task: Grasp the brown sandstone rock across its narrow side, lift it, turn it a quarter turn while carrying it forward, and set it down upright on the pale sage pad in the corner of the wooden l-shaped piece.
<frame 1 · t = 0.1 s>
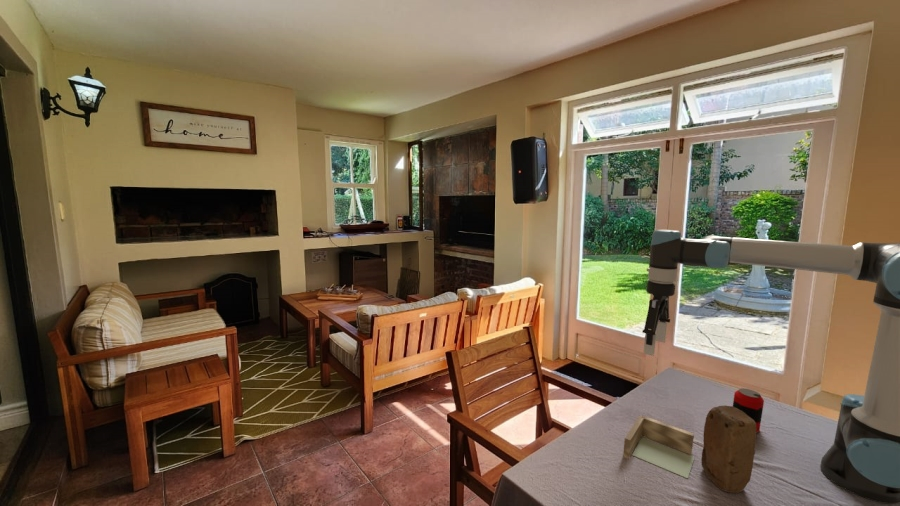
hand: (654, 347, 119), 28 cm above the table, fingers open, 13 cm apart
soda can: (744, 427, 126), on the table
wooden l-shaped piece: (640, 433, 122), on the table
brown sandstone rock: (721, 480, 102), on the table
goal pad: (663, 456, 111), on the table
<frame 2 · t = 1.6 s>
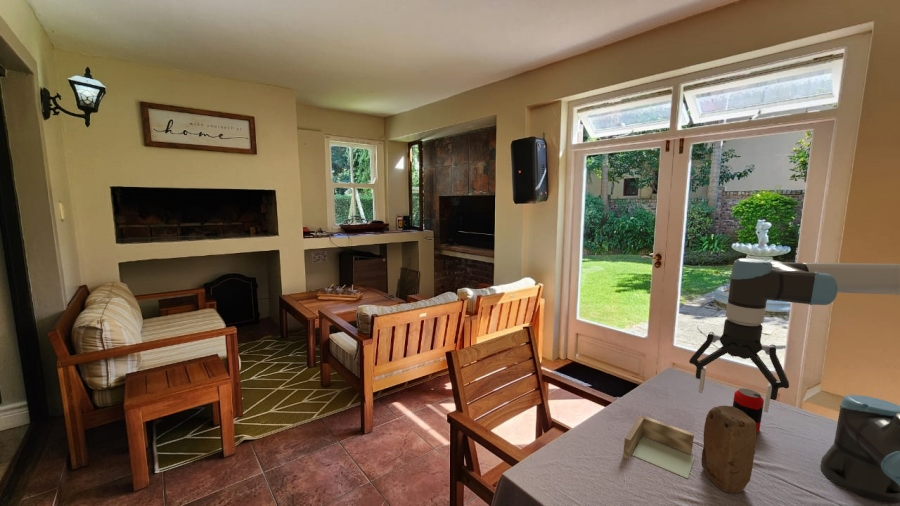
hand: (732, 400, 99), 23 cm above the table, fingers open, 13 cm apart
nothing on the table moved.
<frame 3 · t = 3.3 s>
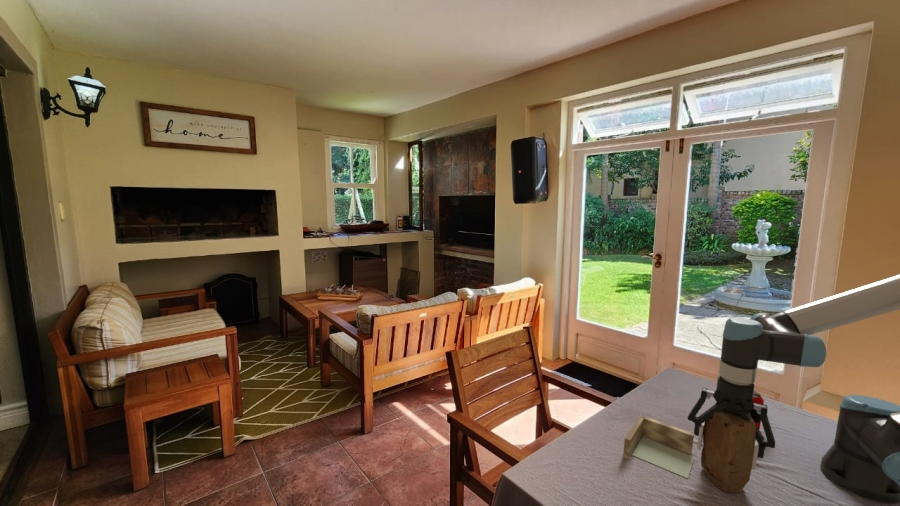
hand: (725, 456, 101), 7 cm above the table, fingers closed on brown sandstone rock, 11 cm apart
brown sandstone rock: (721, 480, 102), on the table, touching gripper
everything else where it was.
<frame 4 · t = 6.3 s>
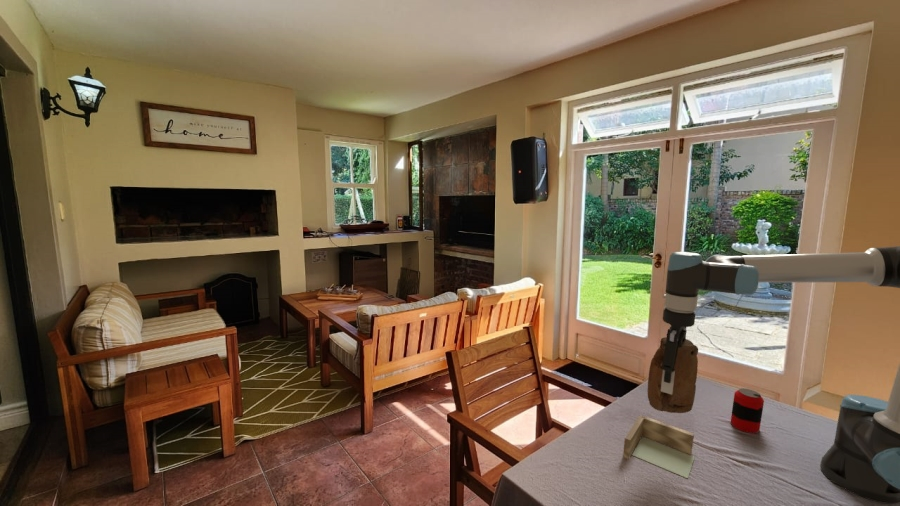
hand: (671, 384, 108), 22 cm above the table, fingers closed on brown sandstone rock, 11 cm apart
brown sandstone rock: (668, 408, 109), point 15 cm above the table, touching gripper
everything else where it was.
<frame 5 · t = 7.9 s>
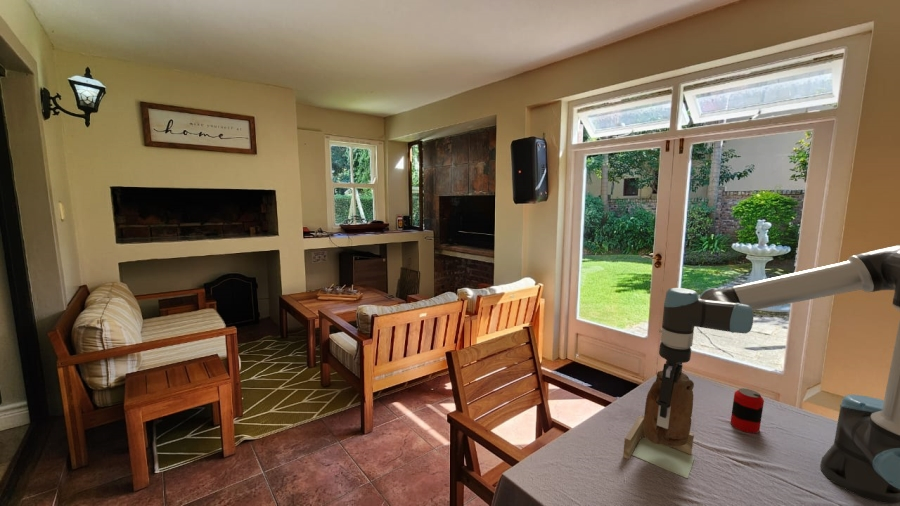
hand: (667, 417, 109), 12 cm above the table, fingers closed on brown sandstone rock, 11 cm apart
brown sandstone rock: (664, 440, 110), point 5 cm above the table, touching gripper
everything else where it was.
when the fingers open (8 cm above the table, at t = 9.3 s): brown sandstone rock drops 1 cm, resting on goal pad.
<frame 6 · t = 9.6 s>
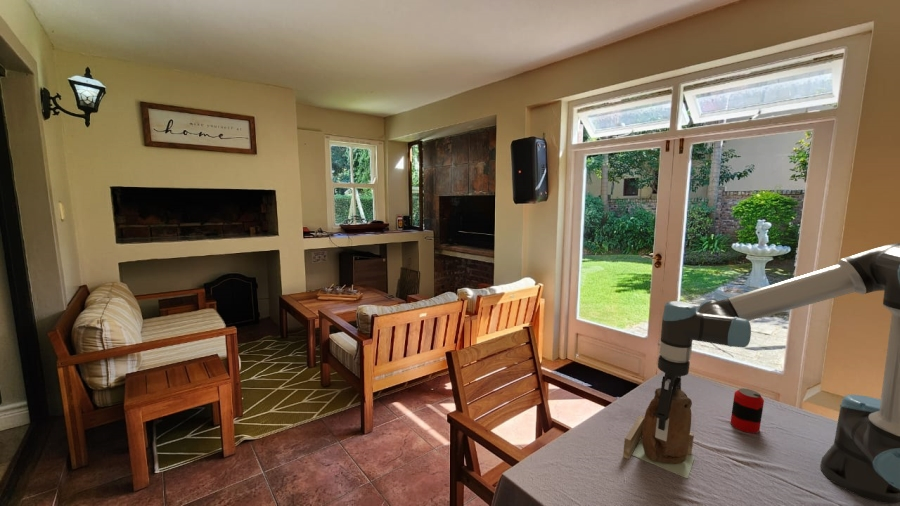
hand: (666, 427, 110), 9 cm above the table, fingers open, 13 cm apart
brown sandstone rock: (662, 457, 111), resting on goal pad
everything else where it was.
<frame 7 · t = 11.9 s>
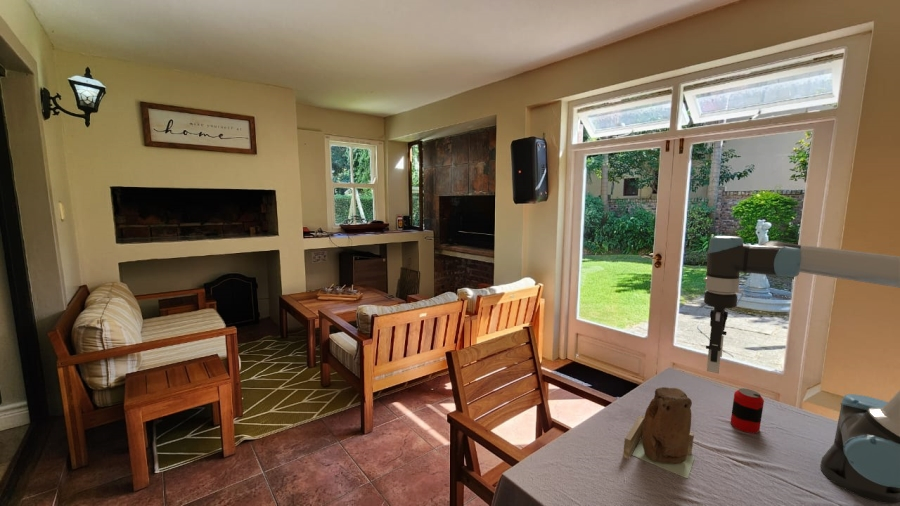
hand: (714, 363, 110), 27 cm above the table, fingers open, 13 cm apart
nothing on the table moved.
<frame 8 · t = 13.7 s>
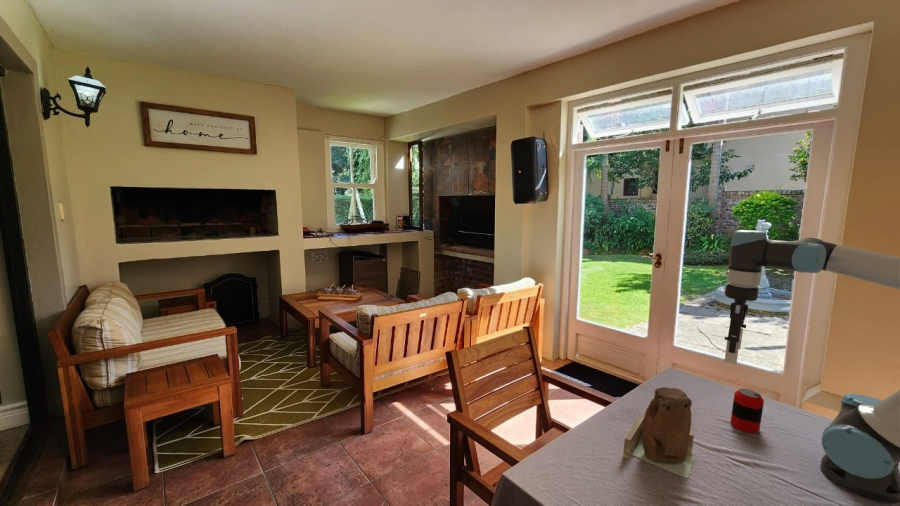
hand: (732, 355, 112), 29 cm above the table, fingers open, 13 cm apart
nothing on the table moved.
at the end: brown sandstone rock inside the target area (0.6 cm from its centre), resting on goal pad; brown sandstone rock tilted 0°; the gripper is holding nothing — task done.
